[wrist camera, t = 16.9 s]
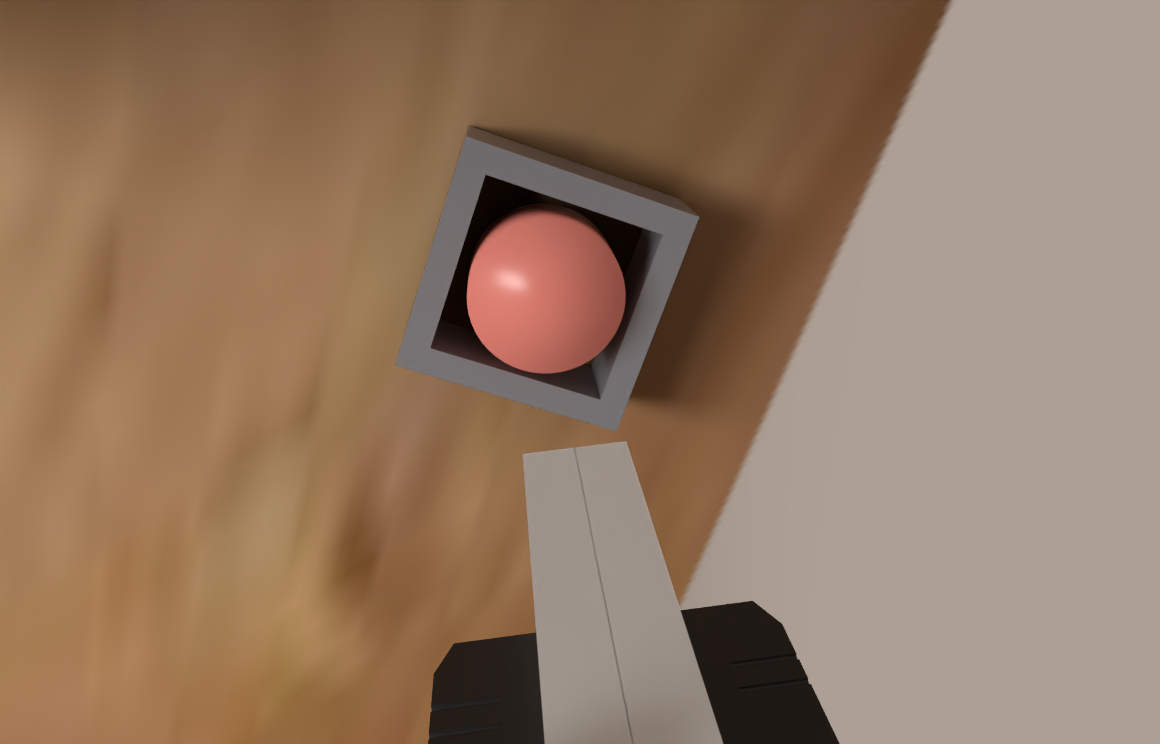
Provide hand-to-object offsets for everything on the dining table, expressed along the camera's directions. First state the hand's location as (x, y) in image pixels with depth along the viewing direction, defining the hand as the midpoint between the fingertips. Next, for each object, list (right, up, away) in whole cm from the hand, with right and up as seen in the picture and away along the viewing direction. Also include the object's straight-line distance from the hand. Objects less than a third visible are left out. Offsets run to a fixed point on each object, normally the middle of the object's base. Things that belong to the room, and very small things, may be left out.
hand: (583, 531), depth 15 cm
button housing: (-1, +6, +17) cm, 18 cm away
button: (-1, +5, +15) cm, 16 cm away
